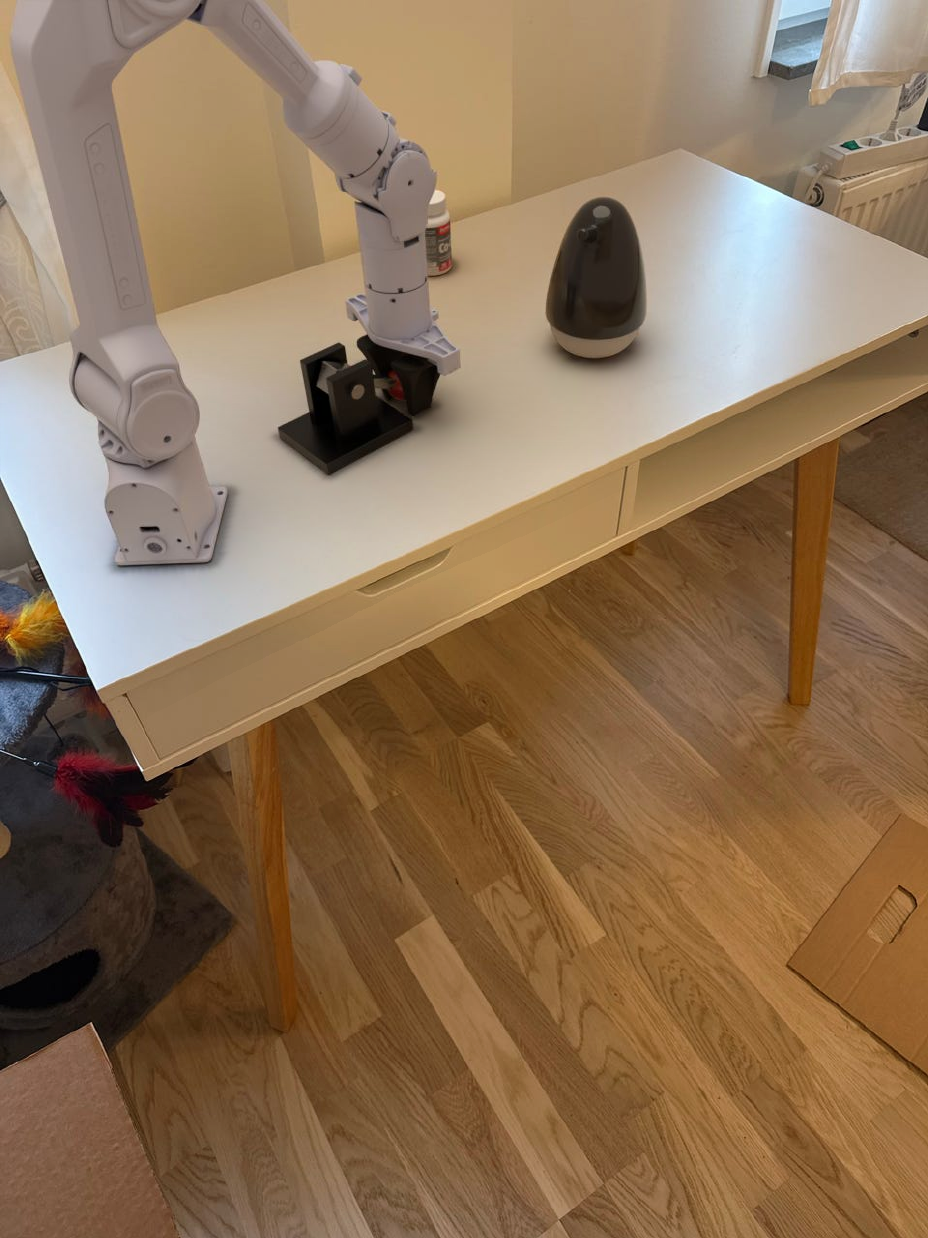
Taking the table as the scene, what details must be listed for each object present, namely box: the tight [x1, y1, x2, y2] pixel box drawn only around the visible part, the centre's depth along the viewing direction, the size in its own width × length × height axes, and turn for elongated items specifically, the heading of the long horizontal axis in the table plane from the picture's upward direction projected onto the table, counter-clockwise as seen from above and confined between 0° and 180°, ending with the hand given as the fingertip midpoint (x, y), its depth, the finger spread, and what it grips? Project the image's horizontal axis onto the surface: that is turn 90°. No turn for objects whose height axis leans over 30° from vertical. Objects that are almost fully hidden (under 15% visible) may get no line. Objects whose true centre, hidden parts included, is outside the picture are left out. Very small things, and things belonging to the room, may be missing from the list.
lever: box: [317, 361, 405, 401], centre depth 87 cm, size 11×3×3 cm, turn 131°
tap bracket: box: [277, 341, 414, 476], centre depth 86 cm, size 10×8×8 cm
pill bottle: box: [425, 189, 453, 277], centre depth 108 cm, size 5×5×8 cm
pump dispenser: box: [545, 196, 648, 359], centre depth 92 cm, size 10×10×15 cm
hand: (408, 407), depth 93 cm, fingers closed on lever, 3 cm apart
